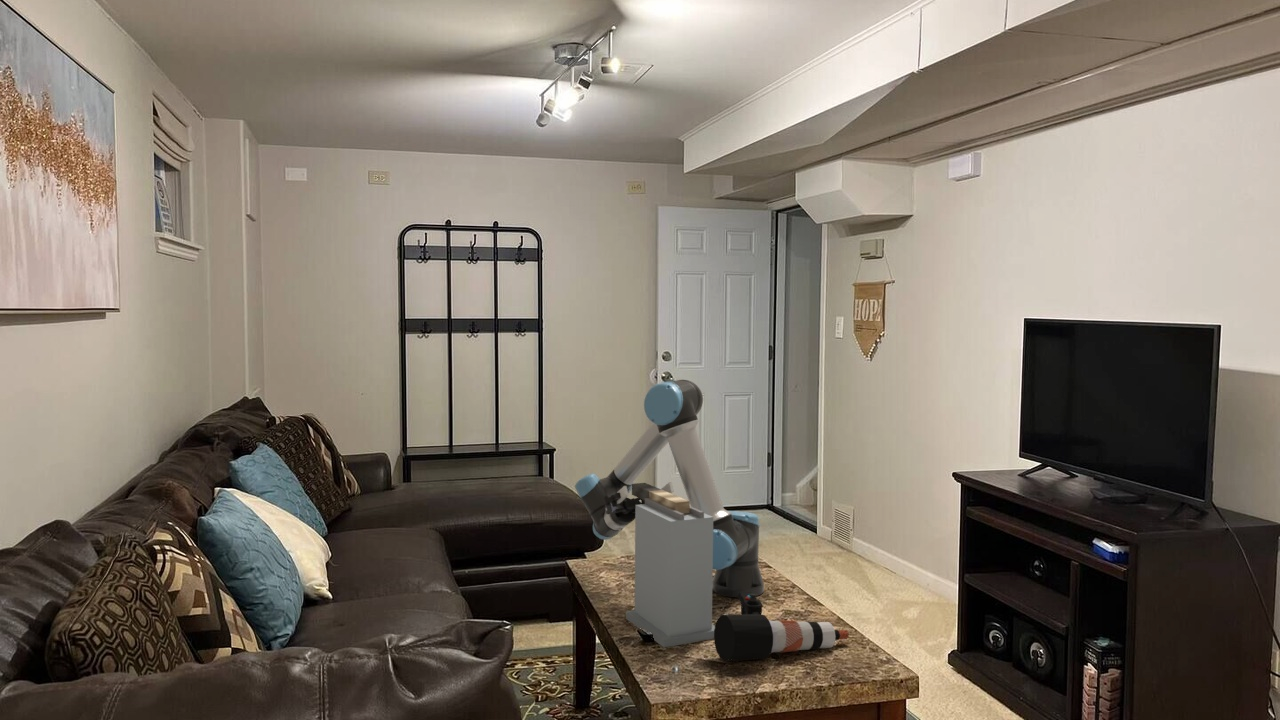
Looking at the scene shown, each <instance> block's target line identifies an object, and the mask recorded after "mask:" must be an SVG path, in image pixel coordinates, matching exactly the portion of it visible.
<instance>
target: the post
mask: <svg viewBox="0 0 1280 720" xmlns="http://www.w3.org/2000/svg"><path fill="white" fill-rule="evenodd" d="M634 522H635V525H634V527H635V528H634V531H635V532H634V535H635V537H634V609H632V610H626V611H625V620H627V621H628V622H629V623H631V624H633V625H634V626H635V627H636V628H638V629H639V630H640V628H641V629H645V630H647V631H649V632H651V633H652V634H653V638H654V642H656V643H657V644H659V645H660V646H661V647H662V648H669V647H675V646H680V645H686V644H691V643H698V642H703V641H708V640H709V641H710V640H714V629H715V625H714V624H713V590H712V581H713V578H714V574H713V517H712V516H710V515H707V514H705V513H704V512H703V511H700V510H698V509H696V508H693V507H691V506H690V513H685V514H683V513H680V512H678V511H676V510H674V509H671V508H669V507H667V506H665V505H663V504H660V503H658V502H656V501H654V500H651V499H649V498H645V504H640V505H636V508H635V519H634Z"/></svg>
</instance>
